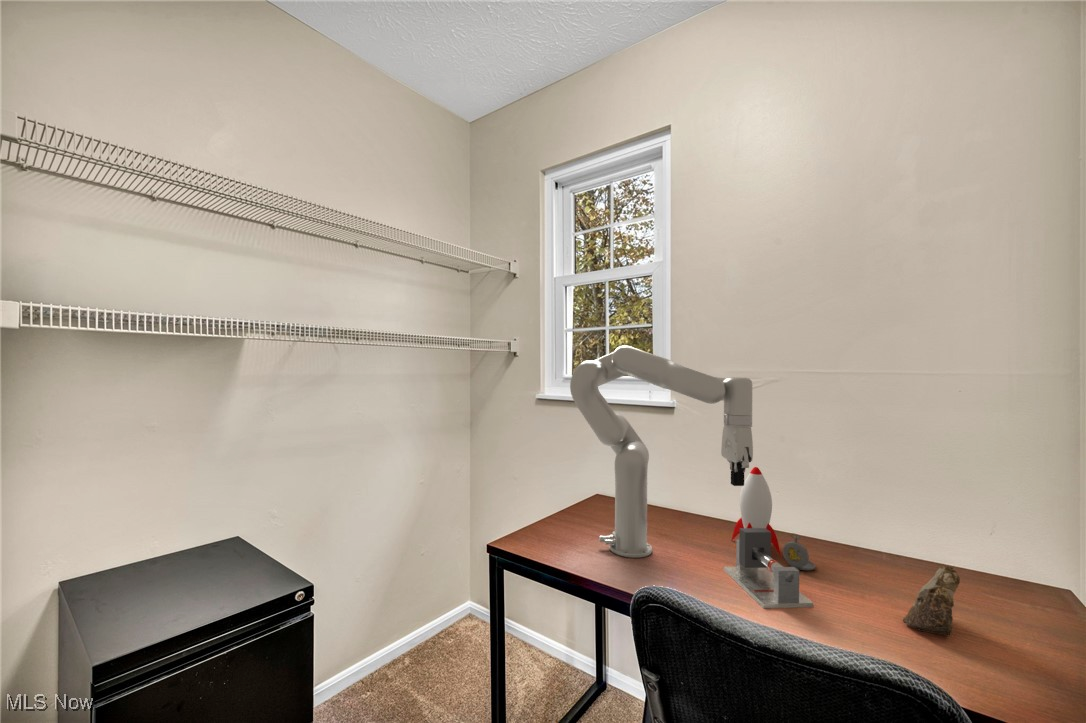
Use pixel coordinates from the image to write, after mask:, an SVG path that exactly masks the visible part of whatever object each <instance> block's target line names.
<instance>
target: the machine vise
mask: <svg viewBox="0 0 1086 723" xmlns="http://www.w3.org/2000/svg"><path fill="white" fill-rule="evenodd" d="M752 555H753V556H754V557H755V558H756V559H758V560H759V561H760V562H762V563H763V564H764V565H765V566H767V567H768V568H744V567H743V566H742V565H741V564H740V563H739V538H737V539H736V558H735V559H736V560H735V561H736V562H735V563H736V565H735V566H724V567H723V571H724V572H725V573H726V574H727V575H728V576H729V577H730V578H731V579H732V580H734V582H736V584H738V586H740V587H741V588H742V589H743V590H744V591H745V592H746V593H747V594H748V595H749V596H750V597H751V598H752V599H753V600H754V601H755V602H756V603H757V604H758V605H759V606H761V607H762V608H763V609H788V608H789V609H790V608H791V609H793V608H794V609H795V608H814V602H813V601H812V600H811V599H809V598H808V597H806V595H804V594H803V593H801V591H800V569H797V568H795V567H792V566H783V565H782V564H781V563H780V562H779V561H777V560H775V559H774V558H772V556H771V557H769V556H768V555H767V554H765V553H764V552H763V551H761V550H760V549H758V548H752Z"/></svg>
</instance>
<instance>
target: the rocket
mask: <svg viewBox="0 0 1086 723" xmlns="http://www.w3.org/2000/svg"><path fill="white" fill-rule="evenodd" d="M766 480H767V479H765V477H764V474H763V473H762V472H761V470H760V468H759V467H757V466H754V467H752V469H751V470H750V472H749V474H748V475H747V477H746V478H745V479H744V486H741V489H740V493H739V494H740V495H739V510H740V511H739V512H740V516H741V517H740V518H739V519H738V520H737V521H736V523H735V526H734V529H733V532H732V535H731V536H732V537H731V541H733V540H734V539H735V538H737V536H739V533H740V528H765V529H767V530H769V531H770V532H771V545H772V546H773V547H774V548H775V550H776V551H777V553H778V554H779V556H780V557H781V556H782V554H781V553H782V552H781V548H780V545H779V541H778V537H777V534H776V532H775V530H774V528H773V527H772V525H771V524H770V523H771V518H772V511H773V510H772V509H773V499H772V494H771V491H770V490H771V489H770V487H769V484H768V482H767V481H766Z"/></svg>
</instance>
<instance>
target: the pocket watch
mask: <svg viewBox="0 0 1086 723" xmlns="http://www.w3.org/2000/svg"><path fill="white" fill-rule="evenodd" d="M793 535H795V536H793ZM790 536H791V538H793V540H794V541H789V542H786V543H785V544H784V546H783V547H782V553H783V557H784V559H785V560H786V562H787V564H788V565H789V567H795V568H796V569H798V570H799V571H800V570H802V571H813V570H815V569H816V564H815V563H814V562H812V561H810V556H809V555H810V554H809V552H808V550H807V549H806V548H805V546H804V545H802V544H801V543H799V542H798V541H799V540H801V536H800V535H799V534H797V533H790Z"/></svg>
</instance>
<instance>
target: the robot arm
mask: <svg viewBox="0 0 1086 723" xmlns="http://www.w3.org/2000/svg"><path fill="white" fill-rule="evenodd" d="M624 376H629V377H632V378H635V379H638V380H640V381H643V382H646V383H649V384H652V385H654V386H657V387H660V388H661V389H666V390H669V391H673V392H675V393H679V394H680V395H684V396H687V397H689V398H692V399H694V400H697V401H701V402H703V403H706V404H708V405H709V404H717V403H720V402H721V401H723V427H722V428H723V429H722V435H721V452H720V454H721V456H722V457H723V458H724V459H725V460H727V462H728V463H729V469H730V485H731V486H734V487H743V486H744V482H745V472H746V469H749V468H750V463H751V462H753V459H754V458H753V456H754V445H753V444H754V443H753V442H754V441H753V433H752V432H753V431H752V427H753V381H752V380H751V378H747V377H726V378H725V377H718V376H717V377H716V376H712V375H710V374H706V373H703V372H701V371H699V370H694V369H692V368H689V367H687V366H683V365H681V364H679V363H677V362H674V361H673V360H671V359H668V358H665V357H663V356H659V355H657V354H653V353H650V352H647V351H645V350H642V349H638V348H636V347H633V346H630V345H620V346H618V347H616V349H615V350H614V351H613V352H610V353H608V354H605V355H603V356H601V357H599V358H597V359H594V360H584V361H583V362H581V363H579V364H578V365H577V366H576V367H575V369H574V370H573V373H572V375H571V379H570V383H569V387H570V388H569V390H570V394H571V397H572V400H573V402H574V403H575V406H576V407H577V409H578V410H579V412H580V413H581V414H582V416H583V417H584V419H585V421H586V423H587V424H588V425H589V426H590V428H591V429H592V431H593V432H594V434H595V436H596V437H597V439H598V441H600V442H601V443H602V444H603V445H605V446H607V447H611V448H610V449H612V451H613V452H614V454H615V458H614V459H615V460H614V480H615V481H614V483H615V484H614V485H615V487H614V488H615V489H614V494H615V495H614V531H612V533H611V534H609V535H599V536H598V542H599V543H604V544H605V545H607V546H608V545H609V550H610V551H611V552H612V553H613V554H616V555H617V556H621V557H626V558H633V559H634V558H644V557H648V556H650V555H651V554H652V553H653V547H652V545H651V544H650V543H648V541H647V540H648V537H647V536H648V467H649V460H650V454H649V449H648V448H647V445H646V444H645V442H643V440H642V439H641V437H640V436H639V435H638V432H636V431H635V429H634V428H633V426H632V425H631V424H630V422H629V421H628V420H627V418H626V417H625V416H623V415H622V414H620V413H617V412H615V411H614V410H613V408H612V407H611V406H610V404H609V403H608V401H607V399H606V398H605V397H604V396H603V394H602V393H601V392H600V390H599V389H600V388H599V386H602V385H605V384H607V383H611V382H612V381H615V380H618V379H619V378H622V377H624Z"/></svg>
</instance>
